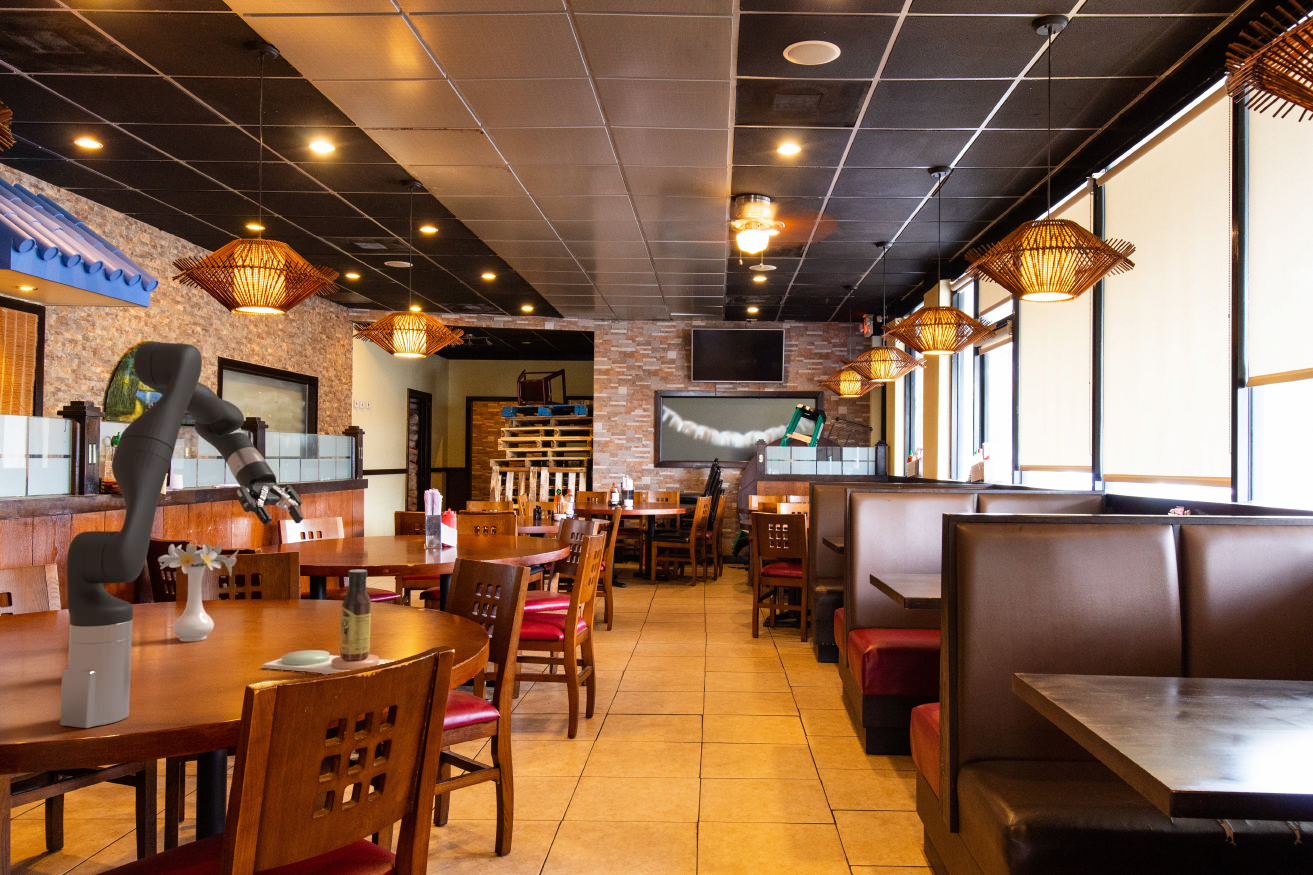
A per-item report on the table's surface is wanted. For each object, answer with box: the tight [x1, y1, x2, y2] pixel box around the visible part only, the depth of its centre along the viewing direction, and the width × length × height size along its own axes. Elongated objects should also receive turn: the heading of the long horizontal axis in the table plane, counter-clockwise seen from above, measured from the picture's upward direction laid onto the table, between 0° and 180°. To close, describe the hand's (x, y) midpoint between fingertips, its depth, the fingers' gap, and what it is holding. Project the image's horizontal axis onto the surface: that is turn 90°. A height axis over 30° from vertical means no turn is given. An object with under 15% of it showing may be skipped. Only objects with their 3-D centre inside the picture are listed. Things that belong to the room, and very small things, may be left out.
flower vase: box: [157, 542, 240, 643], centre depth 211 cm, size 13×18×25 cm
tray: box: [262, 649, 397, 675], centre depth 183 cm, size 12×26×2 cm, turn 75°
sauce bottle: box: [339, 568, 372, 661], centre depth 182 cm, size 7×6×20 cm
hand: (284, 521), depth 184 cm, fingers open, 8 cm apart
